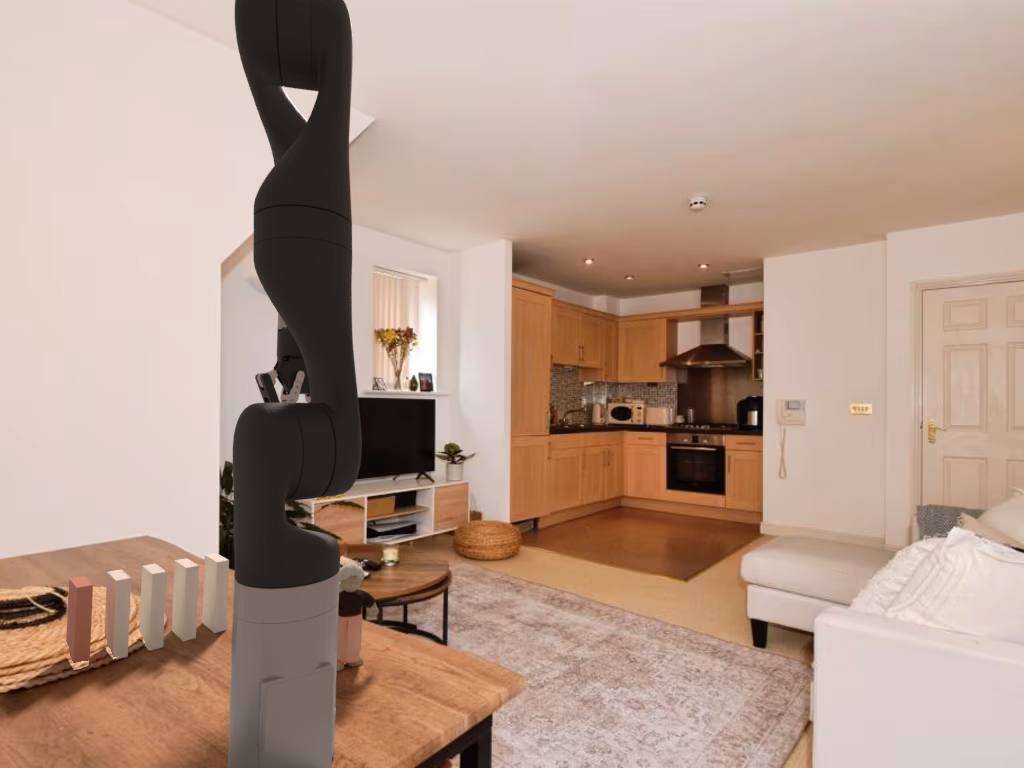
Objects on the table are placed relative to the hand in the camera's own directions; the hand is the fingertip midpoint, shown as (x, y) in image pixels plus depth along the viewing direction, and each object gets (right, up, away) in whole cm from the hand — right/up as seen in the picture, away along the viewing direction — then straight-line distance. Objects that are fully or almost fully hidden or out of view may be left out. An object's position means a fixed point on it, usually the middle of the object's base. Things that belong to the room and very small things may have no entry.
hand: (300, 440), depth 85 cm
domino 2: (-20, -26, -12) cm, 35 cm away
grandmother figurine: (+11, -27, -13) cm, 32 cm away
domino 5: (-12, -27, -3) cm, 29 cm away
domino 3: (-17, -27, -9) cm, 33 cm away
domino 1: (-23, -26, -14) cm, 38 cm away
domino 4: (-14, -27, -6) cm, 31 cm away
